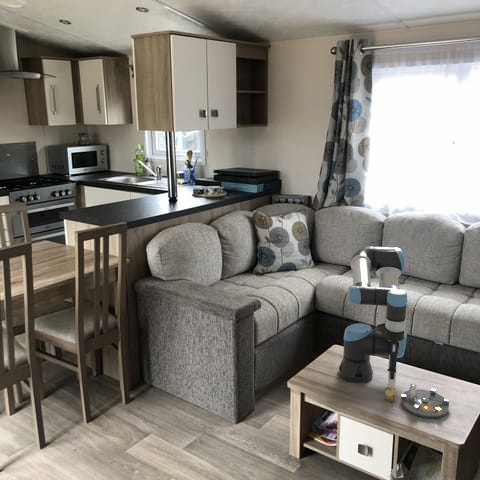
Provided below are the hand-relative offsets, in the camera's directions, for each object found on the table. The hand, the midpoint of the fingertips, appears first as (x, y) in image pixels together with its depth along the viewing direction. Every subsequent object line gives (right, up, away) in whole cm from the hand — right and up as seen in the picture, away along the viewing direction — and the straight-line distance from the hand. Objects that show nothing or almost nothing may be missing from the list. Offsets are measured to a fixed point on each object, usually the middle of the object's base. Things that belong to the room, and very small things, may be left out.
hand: (391, 377), depth 204 cm
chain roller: (0, -10, +3) cm, 11 cm away
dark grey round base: (+13, -11, -2) cm, 17 cm away
